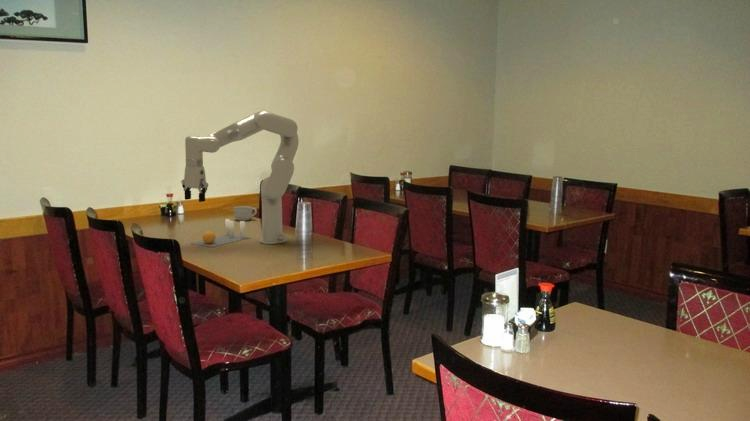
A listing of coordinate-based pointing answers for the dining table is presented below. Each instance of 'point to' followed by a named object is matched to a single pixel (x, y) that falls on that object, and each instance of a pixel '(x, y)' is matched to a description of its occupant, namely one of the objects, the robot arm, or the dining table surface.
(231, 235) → the front pin
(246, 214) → the teacup
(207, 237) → the ball
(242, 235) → the back pin left
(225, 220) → the back pin right
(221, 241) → the gray flat board
